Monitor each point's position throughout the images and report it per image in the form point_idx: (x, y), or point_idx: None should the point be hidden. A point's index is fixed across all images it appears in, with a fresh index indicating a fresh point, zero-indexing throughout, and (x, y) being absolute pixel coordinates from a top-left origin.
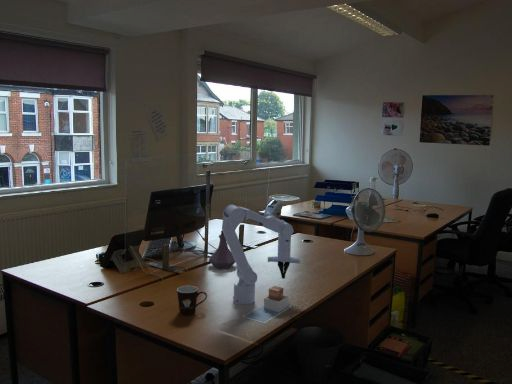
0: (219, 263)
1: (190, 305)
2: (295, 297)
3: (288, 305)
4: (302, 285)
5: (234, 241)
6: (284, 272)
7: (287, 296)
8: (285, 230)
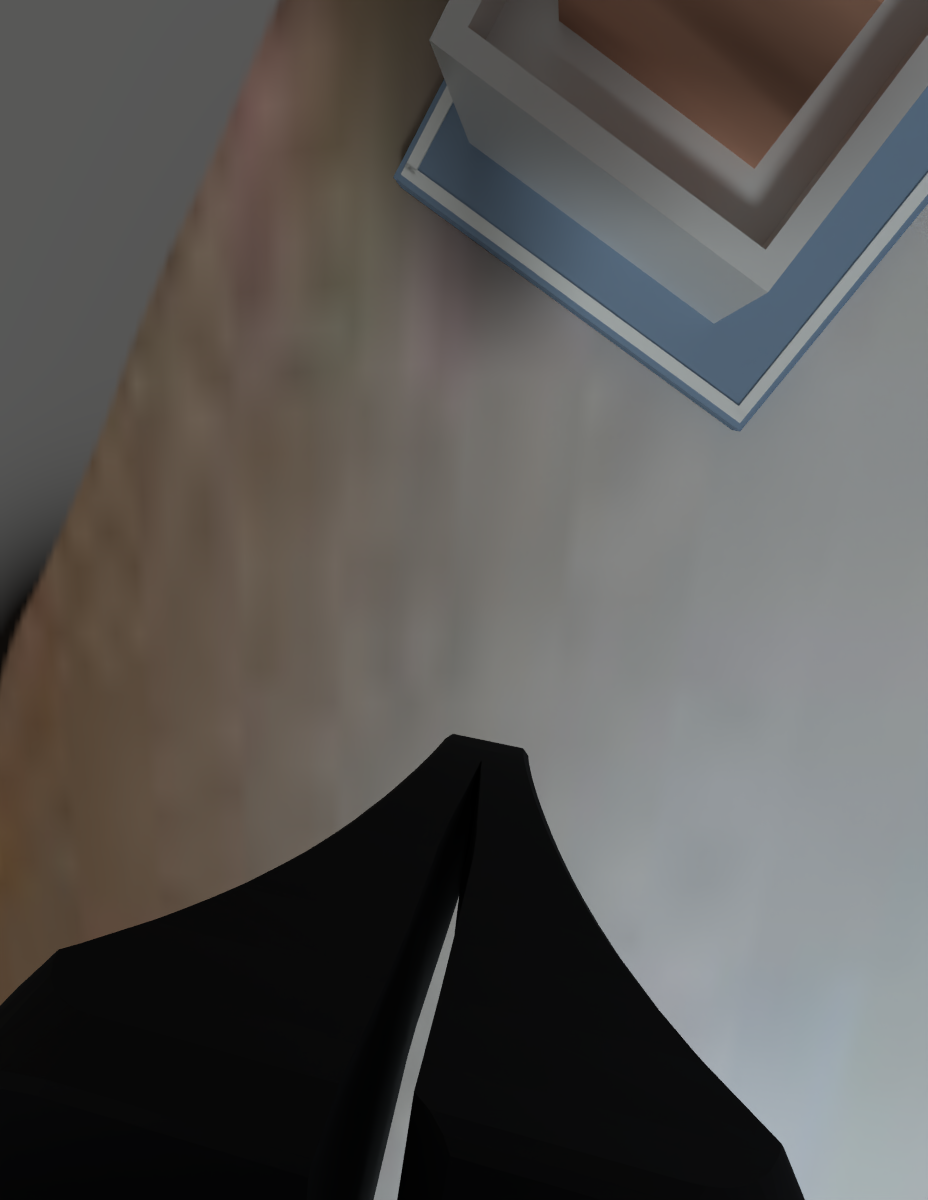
0: None
1: None
2: (346, 625)
3: (458, 200)
4: None
5: None
6: (415, 822)
7: (448, 49)
8: None
